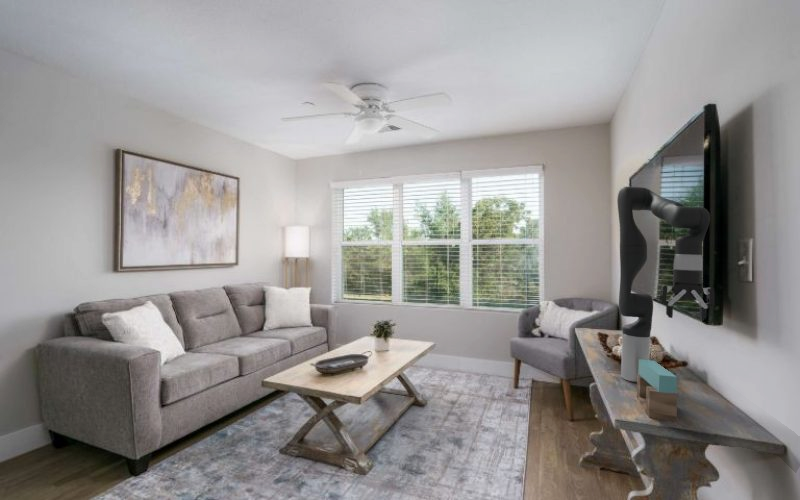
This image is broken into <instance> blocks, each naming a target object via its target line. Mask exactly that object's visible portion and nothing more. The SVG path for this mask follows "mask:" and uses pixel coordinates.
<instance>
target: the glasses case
mask: <svg viewBox="0 0 800 500" xmlns="http://www.w3.org/2000/svg"><path fill="white" fill-rule="evenodd" d="M638 374H639V375H640V376H641V377H642V378H643V379H645V380H646V381H647V382H648V383H649V384H650V385H651V386H653V387H654V388H655V389H656V390H657V391H658V392H663V393H673V394H677V395H678V393H677V391H678V389H677V388H678V376H676V375H674V374H672V373H671V372H670V371H668V370H667V369H665V368H664V367H663V366H661V365H660V364H658V363H657V361H656V360H651V359H649V360H641V359H639V372H638Z"/></svg>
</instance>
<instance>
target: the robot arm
mask: <svg viewBox="0 0 800 500" xmlns="http://www.w3.org/2000/svg"><path fill="white" fill-rule="evenodd" d="M617 211H618V220H619V265H620V266H619V267H620V268H619V269H620V279H619V294H618V309H619V312H620V315H621V316H623V317H627V318H629V317H630V318H637V320H636V321H633V322H632V323H629V324H625V325H623V327H622V331H621V332H622V334H621V335H622V337H621V361H620V362H621V365H620V378H621V379H623V380H625V381H628V382H633V383H637V374H638V372H639V359H641V360H650V350H651V331H652V328H653V327H652V325H653V324H652V323H653V314H654V313H653V312H654V300H653V297H652V296H651V295H650V294H649V293H642V292H641V293H640V292H638V293H637V292H632V286H633V282H634V281H635V279H636V277H637V275H638V274H639V272H640V271H641V270H642V269H643V267H644V266H645V264H646V262H647V259H648V243H647V240H646V237H645V236H644V234H643V233H642V232H641V230H640V228H639V227H638V225H637V223H636V222H635V219H634V211H650V212H651V213H652V215H653V216H654V217H657V218H659V219H661V220H664V221H666V222H667V223H668V224H669V225H670V226H671V227H673V228H676V229H683V230H684V229H689V230H688V232H687V234H686V235H682V236H678V237H677V238H676V239H675V244H674V245H675V247H674V258H673V269H672V270H673V272H672V273H673V275H672V285H671V286H669V285H664V284H662V285H661V286H660V294H659V303H660V304H663V305H666V307H665V310H666V311H665V315H666V316H667V317H668V318H670V319H673V317H674V316H673V315H674V314H673V313H674V306H673V305H674V304H675V303H676V302H677V301H679V300H682V301H685V300H687V301H692V302H693V301H695V302H696V303H697V304H698V306H699V314H698V317H699V318H698V319H699V320H700V321H705V319H707V317H708V316H707V314H708V309H709V308H715V305H716V304H715V289H714V288H713V287H703V286H702V284H703V283H702V281H703V256H702V255H703V241H704V239H705V237H706V233H707V232H708V231H707V230H708V228H709V227H710V226H709V225H710V222H711V215H710V212H709V210H708V209H706V208H705V207H702V206H701V207H700V206H685V205H684V204H683V203H680V202H678V201H675V200H673V199H669V198H666V197H662V196H660V195H658V194H657V193H656V192H654V191H652V190H650V189H649V188H646V187H640V186H623V187H621V188H620V189H619V190H618V194H617ZM670 290H671V291H672V292H673V294H672V295H671V296H670V297H669V299H668V300H667V296H668V295H667V294H668V293H669V292H670ZM703 293H704V294H705V295H706V303H705V301H704V300H703V298H702V297H701V294H703Z"/></svg>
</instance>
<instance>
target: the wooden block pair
mask: <svg viewBox="0 0 800 500" xmlns="http://www.w3.org/2000/svg"><path fill="white" fill-rule="evenodd" d="M636 398H637V400H638V402H639V403H640V405H641V407H642V408H643V411H644V412H645V413H646V415H647V416H648V418H653V419H657V420H658V419H659V420H664V419H665V421H670V420H672V422H677V420H678V419H677V418H678V417H677V415H678V393H677V394H673V393H663V392H658V391H657V390H656V389H655V388H654V387H653V386H651V385H650V384H649V383H648V382H647V381H646V380H645V379H643V378H642V377H641V376H640V375H639V374H637V382H636Z"/></svg>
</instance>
